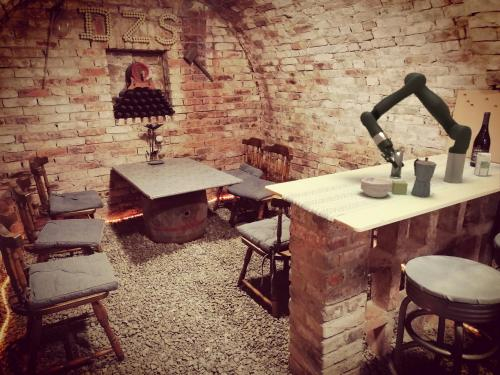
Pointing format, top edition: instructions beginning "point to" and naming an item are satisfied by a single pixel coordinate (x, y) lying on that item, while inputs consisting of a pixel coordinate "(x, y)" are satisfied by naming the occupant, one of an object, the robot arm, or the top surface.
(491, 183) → the top surface
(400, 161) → the flanged base cylinder
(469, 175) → the top surface
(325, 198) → the top surface
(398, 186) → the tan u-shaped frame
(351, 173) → the top surface
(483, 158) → the syrup box
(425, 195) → the moka pot
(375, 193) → the paper bowls
